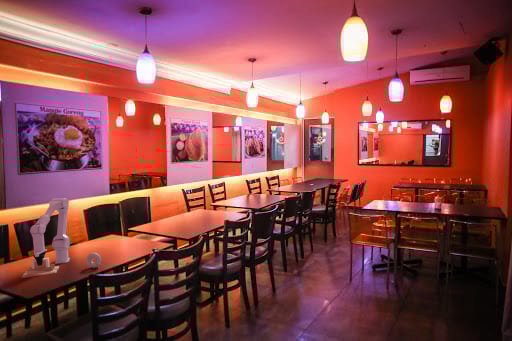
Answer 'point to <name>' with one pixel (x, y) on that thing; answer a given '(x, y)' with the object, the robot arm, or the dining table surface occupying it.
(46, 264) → the pale pink flat block
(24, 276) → the notched stand
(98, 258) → the donut
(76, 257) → the dining table surface
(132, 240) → the dining table surface
